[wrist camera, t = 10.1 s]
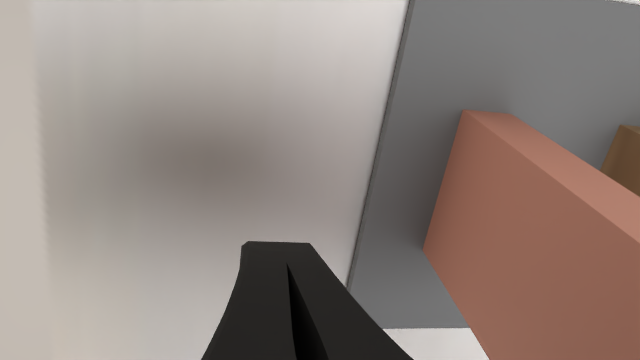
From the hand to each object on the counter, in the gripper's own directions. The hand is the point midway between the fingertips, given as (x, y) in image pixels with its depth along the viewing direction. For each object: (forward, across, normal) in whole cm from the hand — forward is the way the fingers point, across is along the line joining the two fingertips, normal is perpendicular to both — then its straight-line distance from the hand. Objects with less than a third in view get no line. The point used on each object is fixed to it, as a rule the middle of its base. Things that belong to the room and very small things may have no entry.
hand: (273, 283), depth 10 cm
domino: (+5, -7, 0) cm, 8 cm away
